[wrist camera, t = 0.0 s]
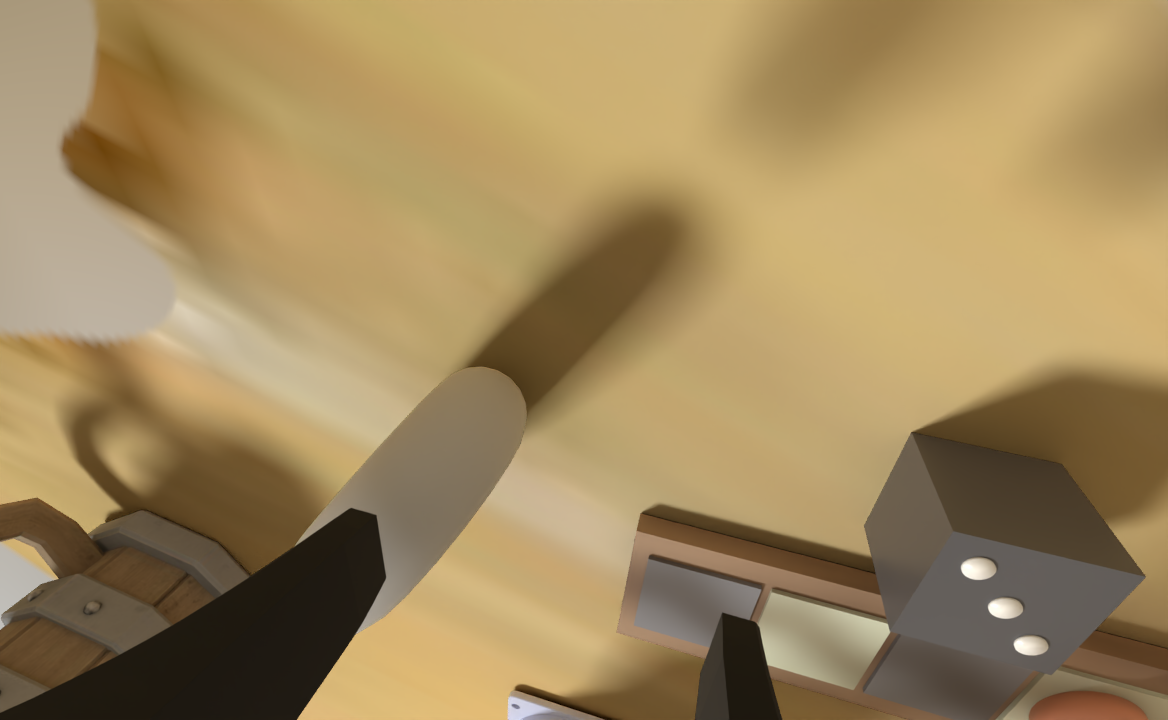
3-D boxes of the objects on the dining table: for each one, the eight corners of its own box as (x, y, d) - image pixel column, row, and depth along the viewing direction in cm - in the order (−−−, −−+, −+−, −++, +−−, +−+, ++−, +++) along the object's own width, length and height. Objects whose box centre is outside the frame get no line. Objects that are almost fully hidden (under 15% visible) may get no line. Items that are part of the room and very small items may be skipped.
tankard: (311, 636, 36) (79, 949, 24) (206, 649, 42) (-28, 910, 29) (79, 395, 30) (-415, 654, 17) (-10, 449, 35) (-434, 675, 22)
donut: (507, 302, 20) (329, 491, 11) (579, 363, 20) (459, 588, 12) (390, 443, 25) (210, 643, 17) (450, 489, 26) (304, 706, 17)
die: (995, 555, 20) (1054, 678, 16) (863, 524, 21) (890, 633, 17) (1062, 462, 18) (1150, 579, 14) (910, 430, 18) (953, 533, 14)
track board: (1104, 755, 23) (1120, 787, 22) (620, 614, 27) (615, 636, 26) (1218, 662, 19) (1244, 695, 18) (640, 513, 23) (635, 534, 22)
